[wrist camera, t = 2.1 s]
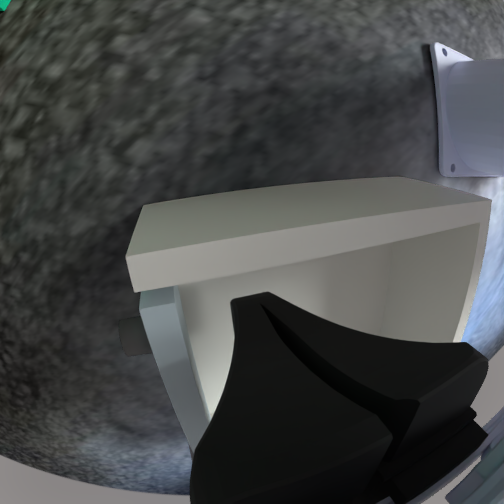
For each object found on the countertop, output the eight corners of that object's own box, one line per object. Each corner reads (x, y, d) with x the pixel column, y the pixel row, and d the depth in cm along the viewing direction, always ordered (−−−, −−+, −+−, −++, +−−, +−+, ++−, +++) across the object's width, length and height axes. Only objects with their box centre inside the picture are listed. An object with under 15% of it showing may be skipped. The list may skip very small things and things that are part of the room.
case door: (169, 239, 10) (175, 303, 6) (210, 416, 14) (231, 489, 10) (115, 249, 10) (88, 317, 6) (173, 423, 13) (186, 497, 9)
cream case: (400, 176, 13) (491, 199, 8) (378, 362, 18) (428, 415, 13) (125, 208, 10) (93, 262, 5) (185, 420, 15) (203, 503, 10)
